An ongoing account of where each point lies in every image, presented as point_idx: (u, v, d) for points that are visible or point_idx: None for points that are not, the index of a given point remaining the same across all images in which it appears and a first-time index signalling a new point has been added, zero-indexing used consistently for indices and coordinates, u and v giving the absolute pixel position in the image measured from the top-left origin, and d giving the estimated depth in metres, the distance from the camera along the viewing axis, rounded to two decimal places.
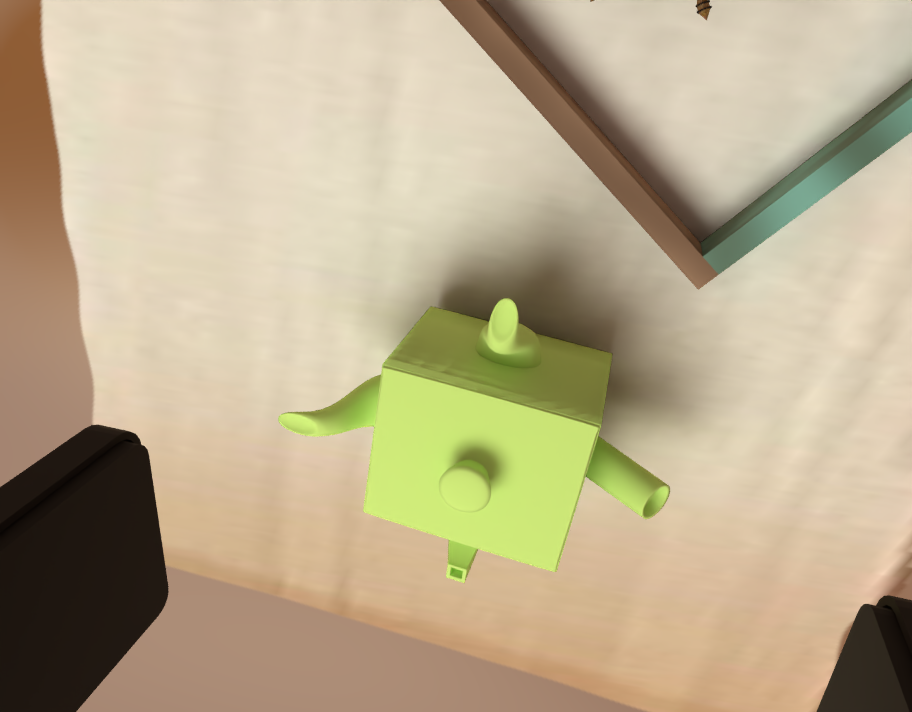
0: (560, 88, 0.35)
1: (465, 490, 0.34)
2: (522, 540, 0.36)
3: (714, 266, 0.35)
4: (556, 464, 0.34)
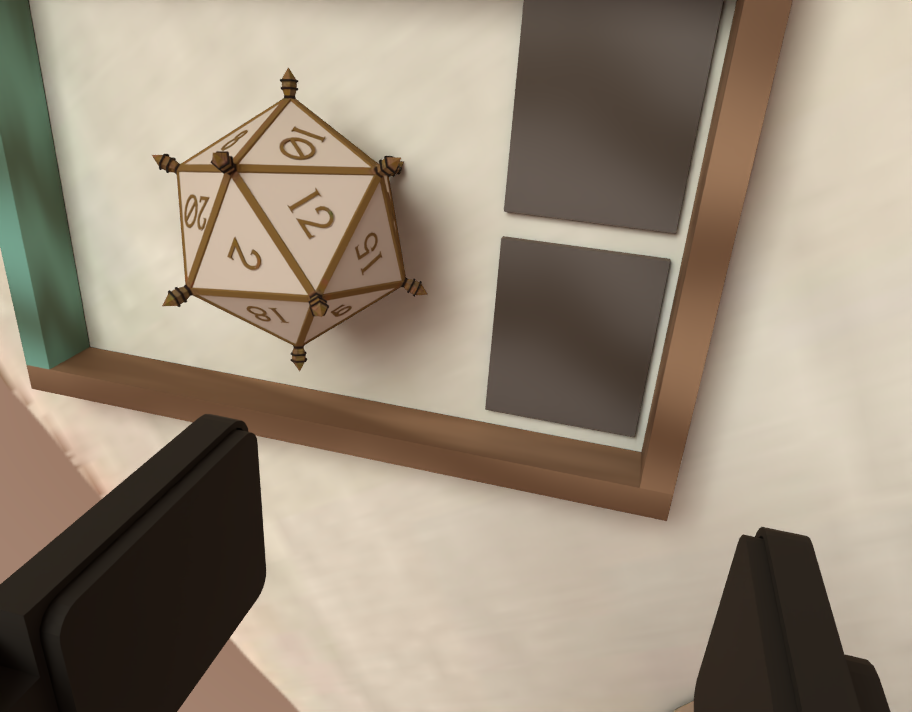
0: None
1: None
2: None
3: None
4: None
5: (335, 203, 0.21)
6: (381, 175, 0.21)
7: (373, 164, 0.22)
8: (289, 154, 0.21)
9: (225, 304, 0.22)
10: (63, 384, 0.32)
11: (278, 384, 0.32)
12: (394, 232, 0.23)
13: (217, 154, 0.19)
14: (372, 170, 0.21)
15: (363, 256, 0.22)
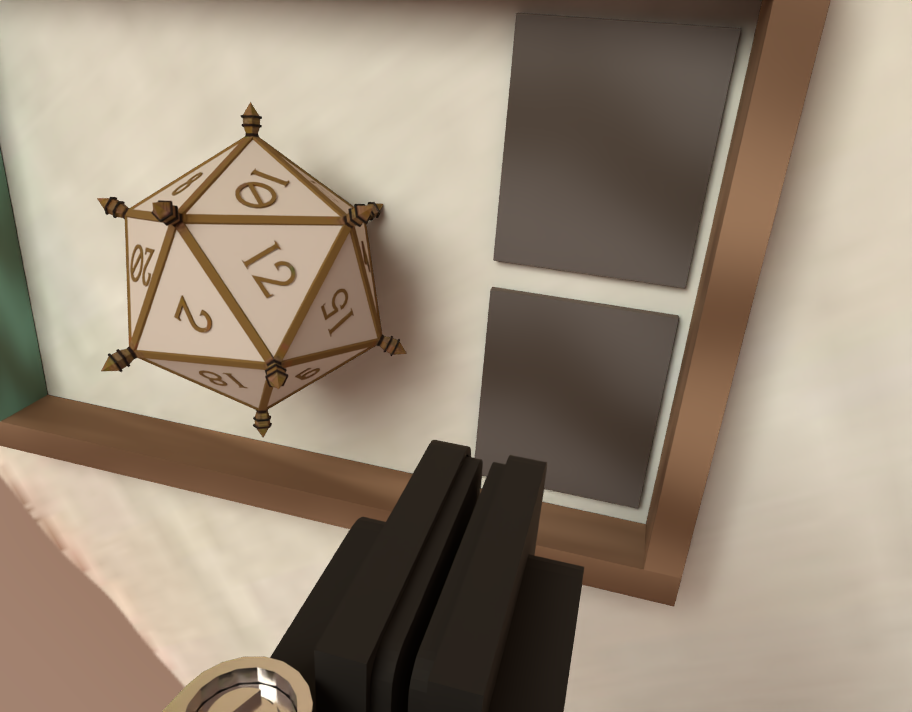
0: None
1: None
2: None
3: None
4: None
5: (297, 257, 0.18)
6: (351, 225, 0.19)
7: (342, 212, 0.19)
8: (246, 202, 0.18)
9: (175, 367, 0.20)
10: (15, 437, 0.29)
11: (248, 440, 0.29)
12: (368, 286, 0.20)
13: (158, 204, 0.17)
14: (341, 219, 0.19)
15: (331, 315, 0.20)
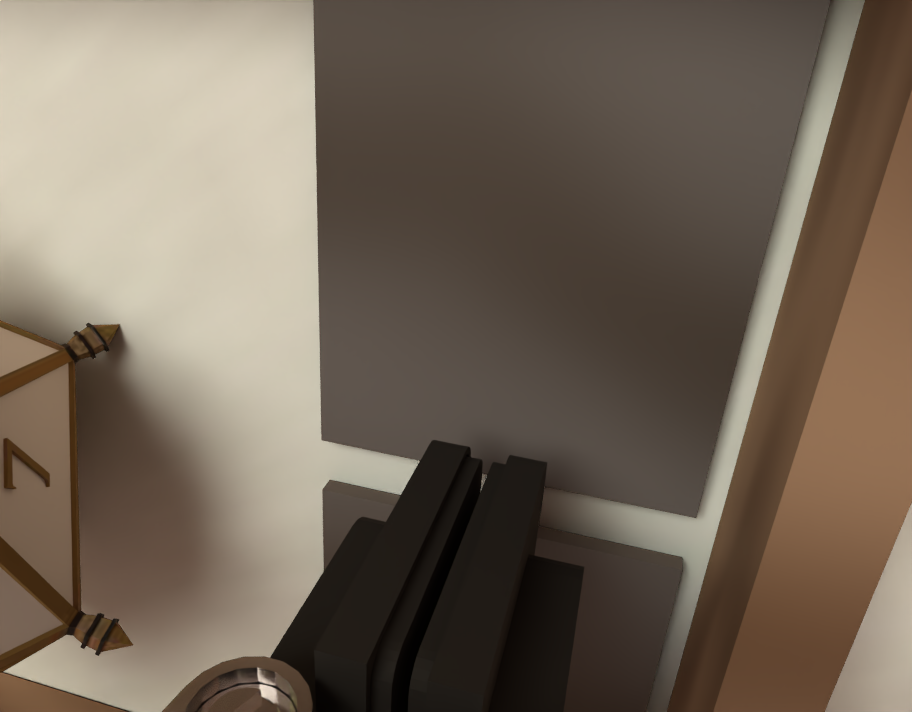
0: None
1: None
2: None
3: None
4: None
5: None
6: None
7: None
8: None
9: None
10: None
11: None
12: (0, 550, 0.09)
13: None
14: None
15: None
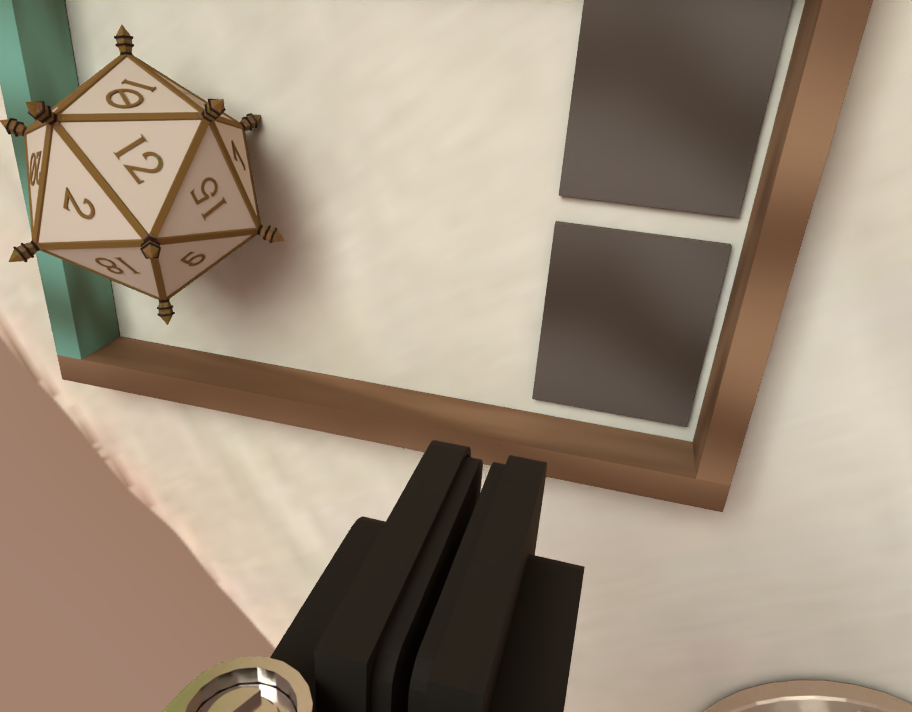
0: None
1: None
2: None
3: None
4: None
5: (163, 148, 0.22)
6: (209, 119, 0.22)
7: (201, 109, 0.22)
8: (114, 103, 0.21)
9: (75, 258, 0.23)
10: (95, 374, 0.31)
11: (316, 374, 0.31)
12: (237, 178, 0.24)
13: (31, 103, 0.20)
14: (200, 114, 0.22)
15: (202, 200, 0.23)
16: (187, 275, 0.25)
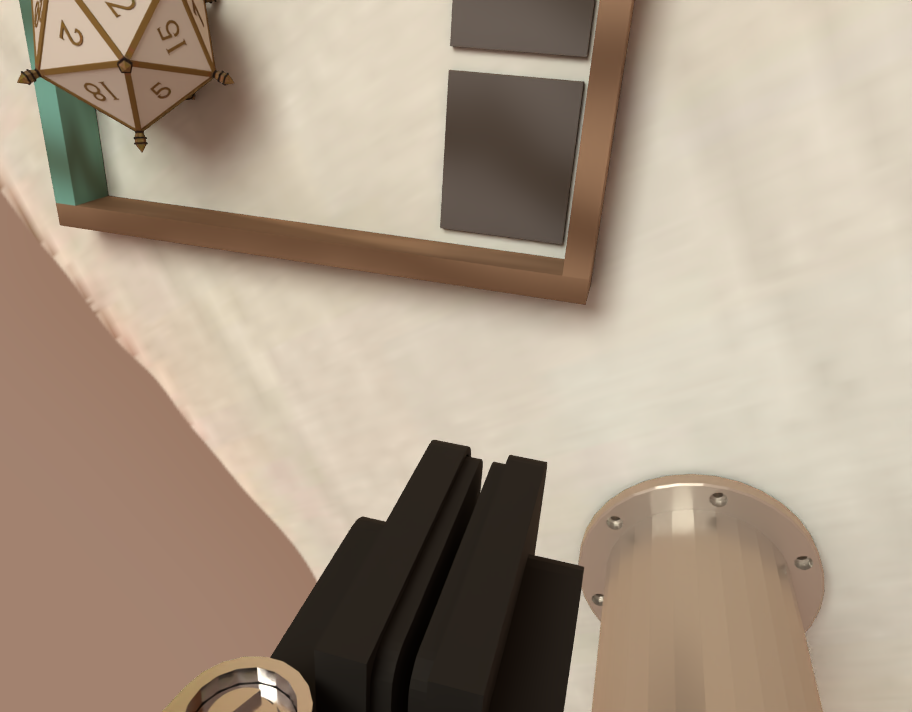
0: None
1: None
2: None
3: None
4: None
5: None
6: None
7: None
8: None
9: (68, 85, 0.30)
10: (87, 218, 0.37)
11: (268, 218, 0.37)
12: (195, 26, 0.30)
13: None
14: None
15: (167, 38, 0.29)
16: (157, 108, 0.31)
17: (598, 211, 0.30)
